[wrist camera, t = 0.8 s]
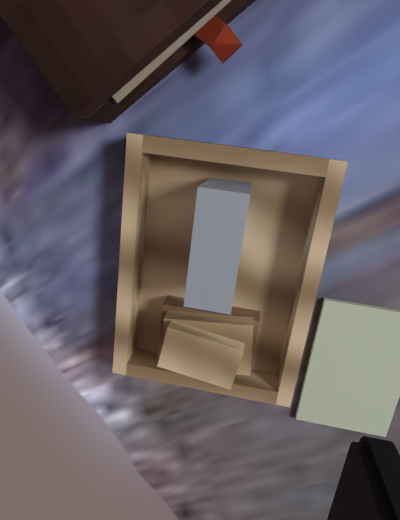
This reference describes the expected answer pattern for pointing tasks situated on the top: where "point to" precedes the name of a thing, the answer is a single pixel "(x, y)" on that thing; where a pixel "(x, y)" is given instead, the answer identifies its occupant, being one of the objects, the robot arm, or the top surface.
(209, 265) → the grey rectangular block
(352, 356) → the mat
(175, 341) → the offcut pine
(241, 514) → the top surface
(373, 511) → the robot arm
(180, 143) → the tray
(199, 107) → the top surface
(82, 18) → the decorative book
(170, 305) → the tan flat block
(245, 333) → the offcut oak
